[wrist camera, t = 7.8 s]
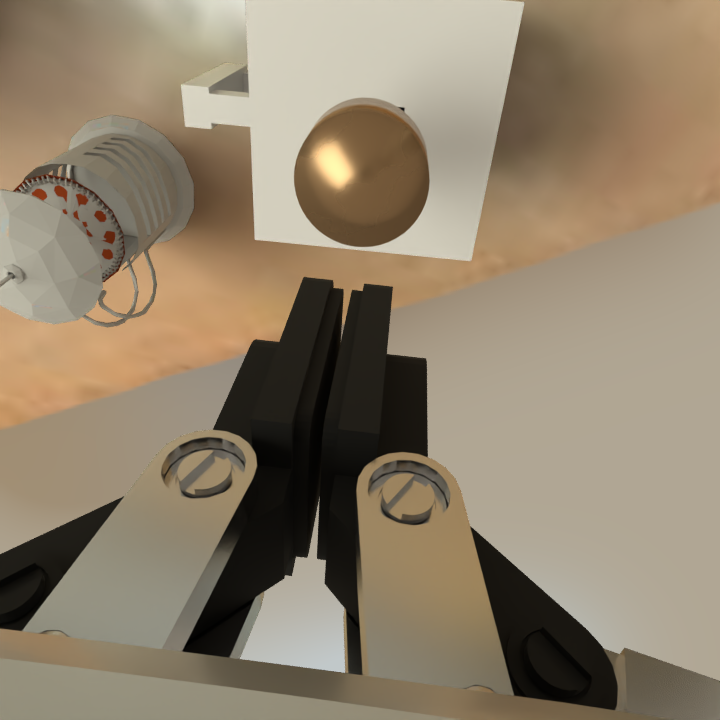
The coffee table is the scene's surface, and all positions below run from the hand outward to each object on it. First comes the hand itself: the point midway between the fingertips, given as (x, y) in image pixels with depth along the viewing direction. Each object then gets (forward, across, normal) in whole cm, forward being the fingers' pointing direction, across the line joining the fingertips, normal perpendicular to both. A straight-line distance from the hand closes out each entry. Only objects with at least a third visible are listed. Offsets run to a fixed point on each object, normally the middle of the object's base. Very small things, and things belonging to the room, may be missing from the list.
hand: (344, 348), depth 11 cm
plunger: (+29, +1, +1) cm, 29 cm away
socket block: (+32, +3, +1) cm, 32 cm away
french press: (+32, +19, +10) cm, 38 cm away
